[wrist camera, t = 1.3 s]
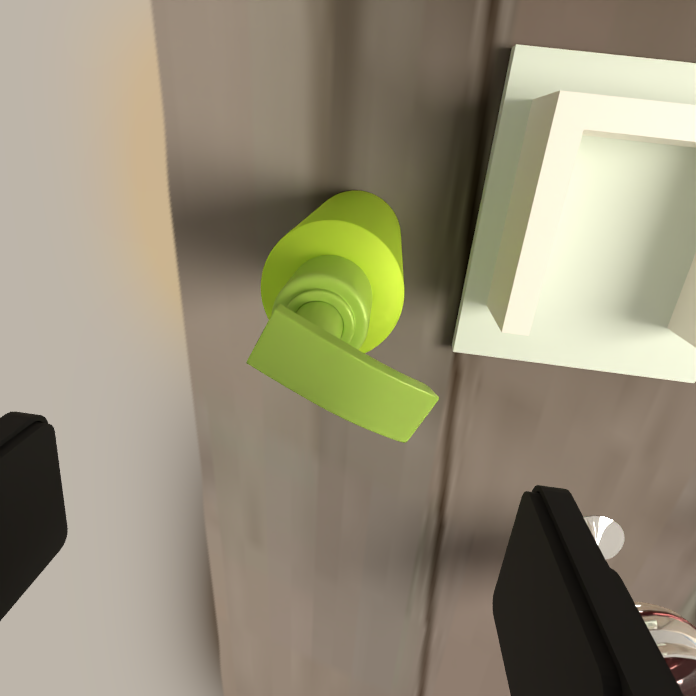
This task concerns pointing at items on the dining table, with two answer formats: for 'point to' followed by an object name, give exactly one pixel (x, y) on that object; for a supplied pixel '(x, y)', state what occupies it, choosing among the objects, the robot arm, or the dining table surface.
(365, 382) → the soap dispenser
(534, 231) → the u rest
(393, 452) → the dining table surface
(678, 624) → the wineglass
